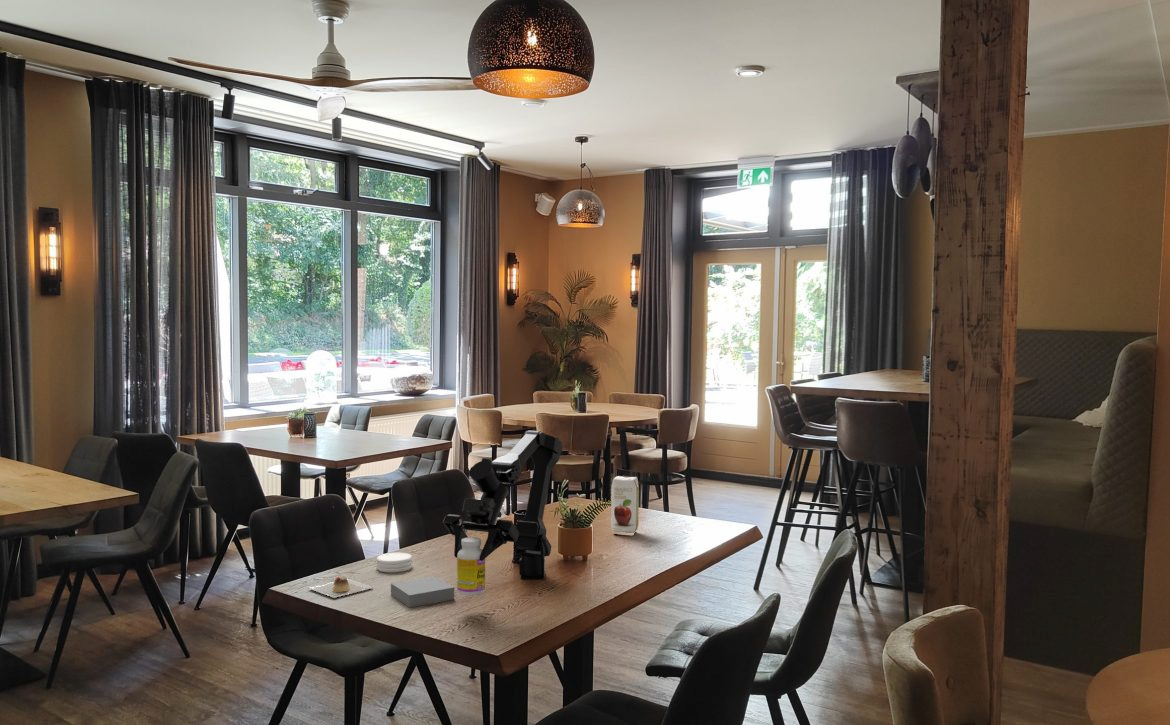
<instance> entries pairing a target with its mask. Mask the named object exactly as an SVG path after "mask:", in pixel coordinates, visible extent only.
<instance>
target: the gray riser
mask: <svg viewBox="0 0 1170 725" xmlns="http://www.w3.org/2000/svg"><path fill="white" fill-rule="evenodd" d="M390 595H391V596H392V597H393V598H395V599H396V600H398V601H399V602H401V603H402V604H403V605H405V606H406V607H408V608H414V607H418V606H425V605H430V604H436V603H440V602H446V601H452V600H455V586H453V585H452V584H450V583H448V582H447V581H445V580H442V579H441V578H439V577H438V576H435V575H432V576H426V577H420V578H415V579H409V580H408V579H407V580H403V581H395V582H391V583H390Z"/></svg>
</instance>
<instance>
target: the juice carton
mask: <svg viewBox="0 0 1170 725" xmlns="http://www.w3.org/2000/svg"><path fill="white" fill-rule="evenodd" d="M639 485H640V484H639V480H638V476H621V475H617V476H615V477H614V478H613V479H612V483H611V490H610V491H611V497H610V498H611V501H610V502H611V504H610V506H611V508H610V509H611V511H610V512H611V514H610V518H611V520H610V521H611V522H610V525H611V531H614V532H625V533H634V532H635V531H636V530H637V531H638V529H639V515H640V514H639V507H640V506H639V503H640V502H639V501H640V500H639V496H640V490H639V488H640V487H639Z"/></svg>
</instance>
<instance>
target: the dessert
mask: <svg viewBox="0 0 1170 725" xmlns="http://www.w3.org/2000/svg"><path fill="white" fill-rule="evenodd" d="M349 584H350V585H353V586H356V587H358V588H362V587H363V588H362V589H360V590H356V591H353V592H349V593H345V594H341V595H337V596H332V595H331V594H327V593H324V592H322V591H319V589H318V588H322V589H324V588H323V587H326V588H328V587H327V586H330V587H332V589H331V591H332V590H333V591H335V592H334V593H344V592H343V591H346V592H348V590H349V591H350V590H351V588H350V585H349ZM365 588H367V589H365ZM314 589H318V590H314ZM369 589H370V590H371V589H374V586H371V585H368V584H364V583H363V582H359V581H357V580H353V579H350V578H346V575H344V574H343V573H341V575H340V576H337V577H336V578H335V579H334V581H332V582H328V583H323V584H319V585H315V586H312V587H311V586H310V587H308V590H311V591H313V592H315V591H316V592H315V593H318V594H322V595H324V596H326V595H327V597H329V596H330V597H329V598H332V599H337V597H339V598H342V597H341V596H343V597H346V596H345V595H347V596H350V595H349V594H351V595H354V594H358V593H361V591H362V592H366V591H368V590H369ZM365 590H366V591H365ZM333 591H332V592H333ZM357 592H358V593H357ZM353 593H354V594H353Z"/></svg>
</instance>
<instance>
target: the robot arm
mask: <svg viewBox="0 0 1170 725" xmlns="http://www.w3.org/2000/svg"><path fill="white" fill-rule="evenodd" d="M562 451H563V442H562V441H561V440H560V439H559V437H557V436H552V435H550V434H547V433H545V432H543V431H541V430H526V431H525V432H524V434H523V437H522V438H521V439H520V440H519V441H518V442H517V443H516V444H515V445H514V446H513V447H512V448H511V450H509V452H508V453H507V454H505V455H502V456H498V457H496V458H495V459H494V460H492V459H491V458H487V457H482V458H481V461H478V462H476V463H475V464H473V465H472V466H471V467H470V469H469V477H470V479H471V480H472V481H473V483H474V485H475V486H476V488H477V489H478V491H479V492H481V493H482V494H481V496H480V499H477V498H469V497H468V498H467V497H466V498H464V502H463V505H462V509H461V512H462V513H466V514H467V518H468V519H470V521H465V520H464V519H463V517H462V516H461V514H460V515H459V514H450V513H449V514H447V515H445V516H444V518H443V521H442V524H443V526H444V527H445V529H446V530H447V531H448V533H449V534H450V535H452V536H454V550H453V551H454V554H453V555H454V556H453V557H455V558H456V559H457V554H458V552H459V551H460V550H461V549H462V545H461V540H462V539H463V538H468V537H469V536H468V534H467V532H468V531H475V532H483V533H487V538H486V541H485V543H484V545H483V548H482V552H481V555H480V560H481V561H483V560H484V559H485V560H486V558H487V557H489V556H490V555H491V554H492V553H493V552H495V551H496V550H497V549H498V548H500V547H501V546H503V545H506V544H507V543H508V542H509V543H510V542H511V543H513V544H514V551H515V554H516V555H521V557H520V558H519V563H518V564H519V570H518V571H519V574H518V575H519V576H520V579H521V580H544V579H546V578H545V577H546V570H545V569H546V563H545V562H546V557H549V556H550V555H551V551H552V545H551V543H550V542H549V539H548V538H547V528H546V525H545V523H544V514H545V513H544V512H545V508H546V502H547V497H548V492H549V486H550V479H551V474H552V469H553V468H555V467H554V466H556V465H557V463H558V462H559V461H560V456H561V454H562ZM530 457H531V459H532V462H533V465H534V466H533V473H532V478H531V483H530V490H529V495H528V499H527V506H526V510H525V516H524V517H523V518H522V520H518V521H517V523H516V525H515V523H514V522H513V520H507V519H498V518H502V515H503V514H502V512H501V510H502V508H503V505H504V503H505V500H507V499H508V500H509V499H510V498H511V494H510V492H509V488H508V487H507V486H506V485H505V484H509V485H515V484H516V483H517V481H518V480H519V478H520V477H521V475H522V473H523V472H522V467H523V466H524V464H525V463H526V462H527V461H528V460H529V458H530Z"/></svg>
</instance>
